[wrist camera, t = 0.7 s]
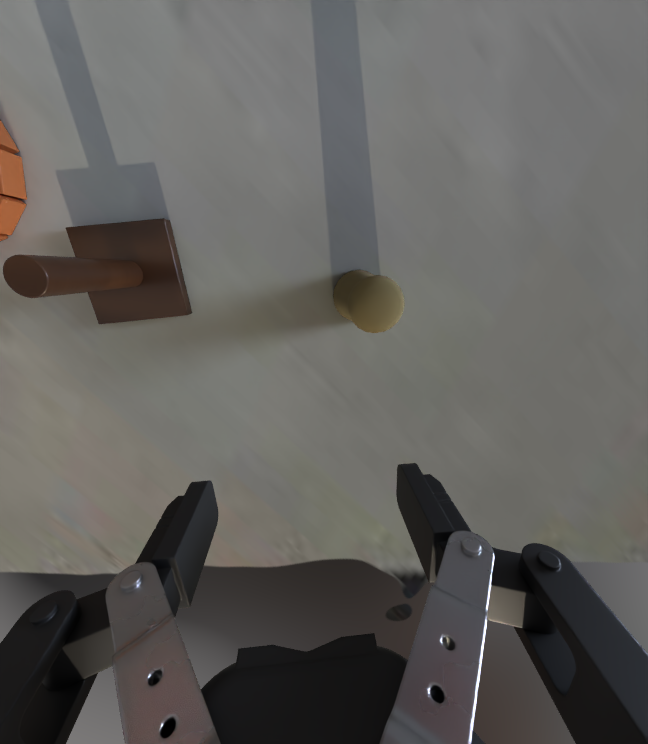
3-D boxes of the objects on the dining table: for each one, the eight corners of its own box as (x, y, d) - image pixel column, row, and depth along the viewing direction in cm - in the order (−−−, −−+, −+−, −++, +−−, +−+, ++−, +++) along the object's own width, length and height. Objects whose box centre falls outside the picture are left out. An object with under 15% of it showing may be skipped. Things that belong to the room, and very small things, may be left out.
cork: (323, 301, 36) (331, 314, 26) (354, 258, 35) (376, 254, 25) (361, 330, 38) (383, 353, 27) (392, 290, 36) (428, 299, 26)
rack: (75, 229, 32) (-93, 200, 18) (170, 220, 32) (73, 185, 19) (106, 322, 35) (-17, 355, 22) (192, 313, 36) (123, 340, 22)
